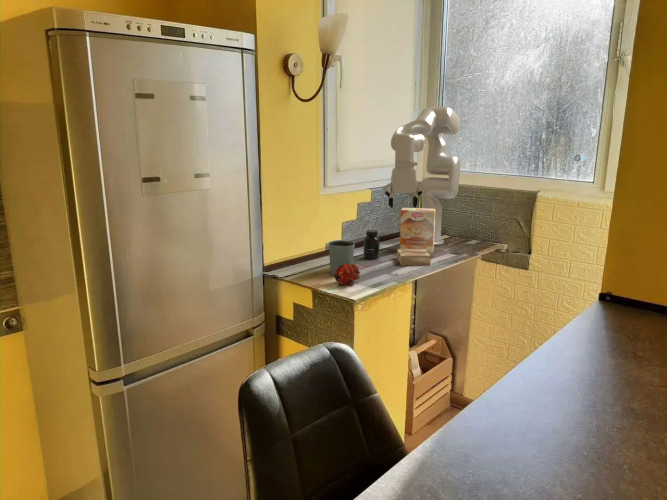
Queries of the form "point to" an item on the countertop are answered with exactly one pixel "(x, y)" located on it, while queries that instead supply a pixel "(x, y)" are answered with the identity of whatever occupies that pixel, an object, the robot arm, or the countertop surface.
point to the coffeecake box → (417, 229)
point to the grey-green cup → (340, 254)
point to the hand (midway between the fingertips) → (402, 207)
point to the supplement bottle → (371, 245)
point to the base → (413, 257)
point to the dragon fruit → (347, 274)
